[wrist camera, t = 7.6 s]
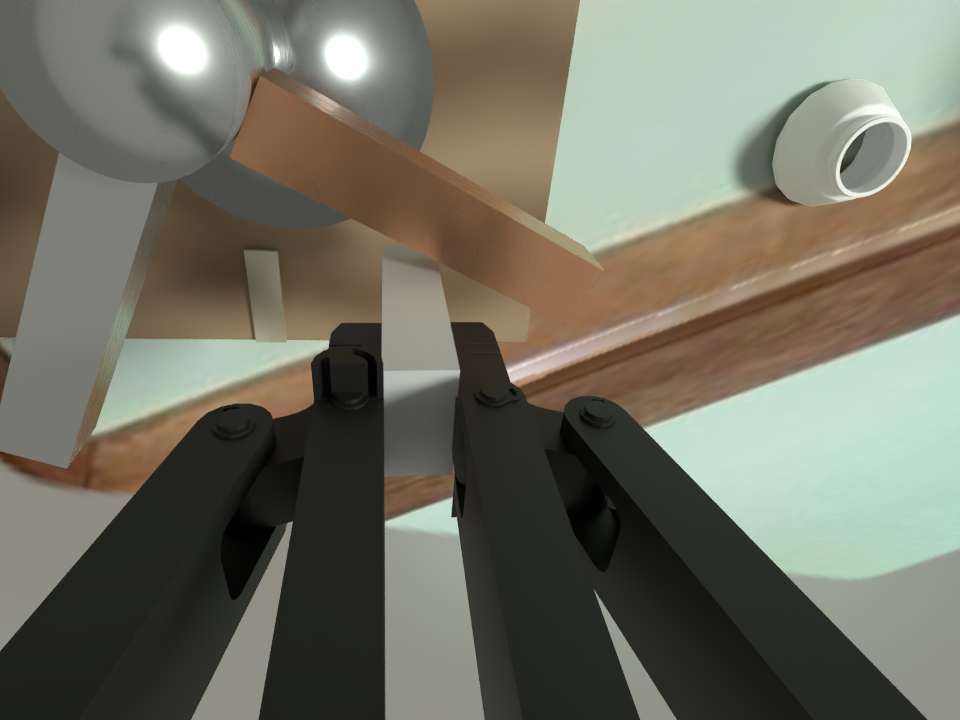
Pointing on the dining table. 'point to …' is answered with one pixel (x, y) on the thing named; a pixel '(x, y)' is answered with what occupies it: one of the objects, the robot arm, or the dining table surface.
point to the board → (349, 244)
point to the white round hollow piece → (840, 144)
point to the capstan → (229, 168)
